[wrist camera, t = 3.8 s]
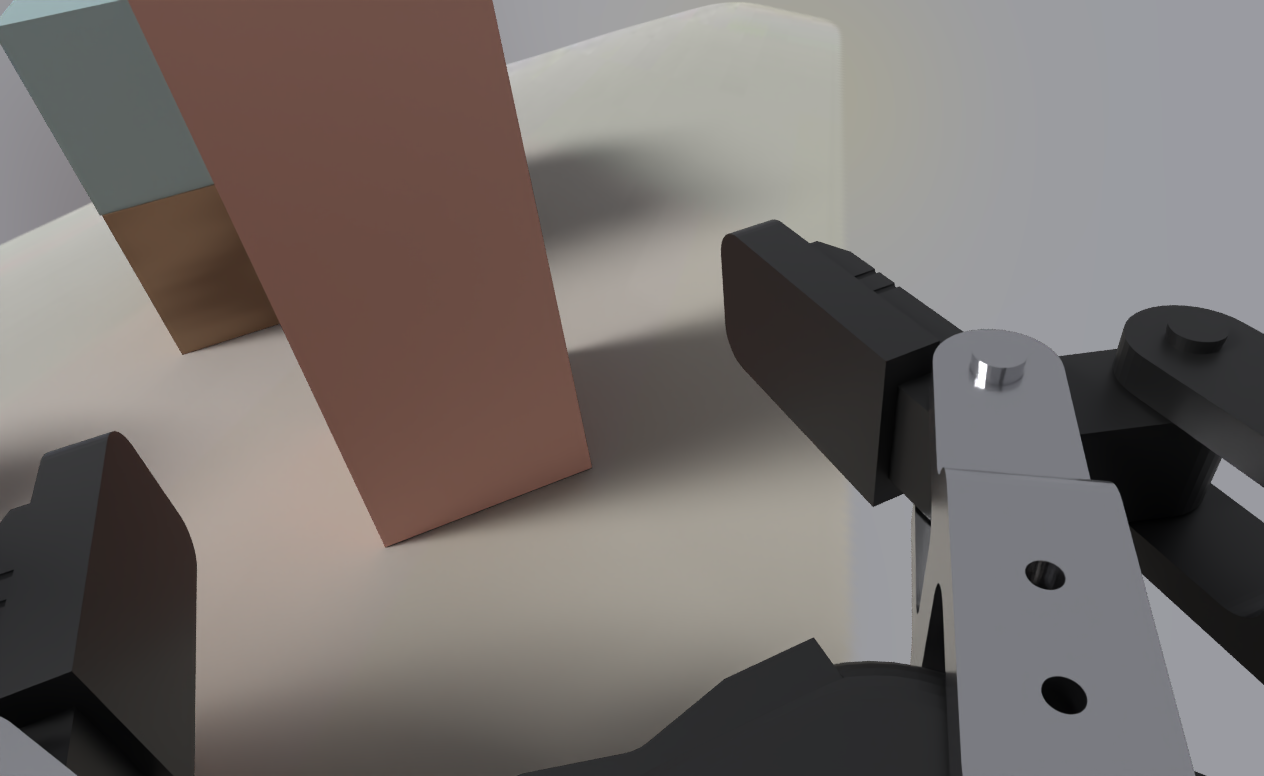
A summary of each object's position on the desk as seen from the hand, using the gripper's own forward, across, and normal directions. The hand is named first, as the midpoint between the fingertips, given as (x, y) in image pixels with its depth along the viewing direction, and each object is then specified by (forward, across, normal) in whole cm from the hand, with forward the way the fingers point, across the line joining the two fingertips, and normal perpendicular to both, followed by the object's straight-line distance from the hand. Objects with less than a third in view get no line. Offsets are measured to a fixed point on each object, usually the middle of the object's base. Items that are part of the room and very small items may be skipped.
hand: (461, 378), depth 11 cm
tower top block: (+20, +3, +2) cm, 21 cm away
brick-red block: (+7, 0, +7) cm, 10 cm away
